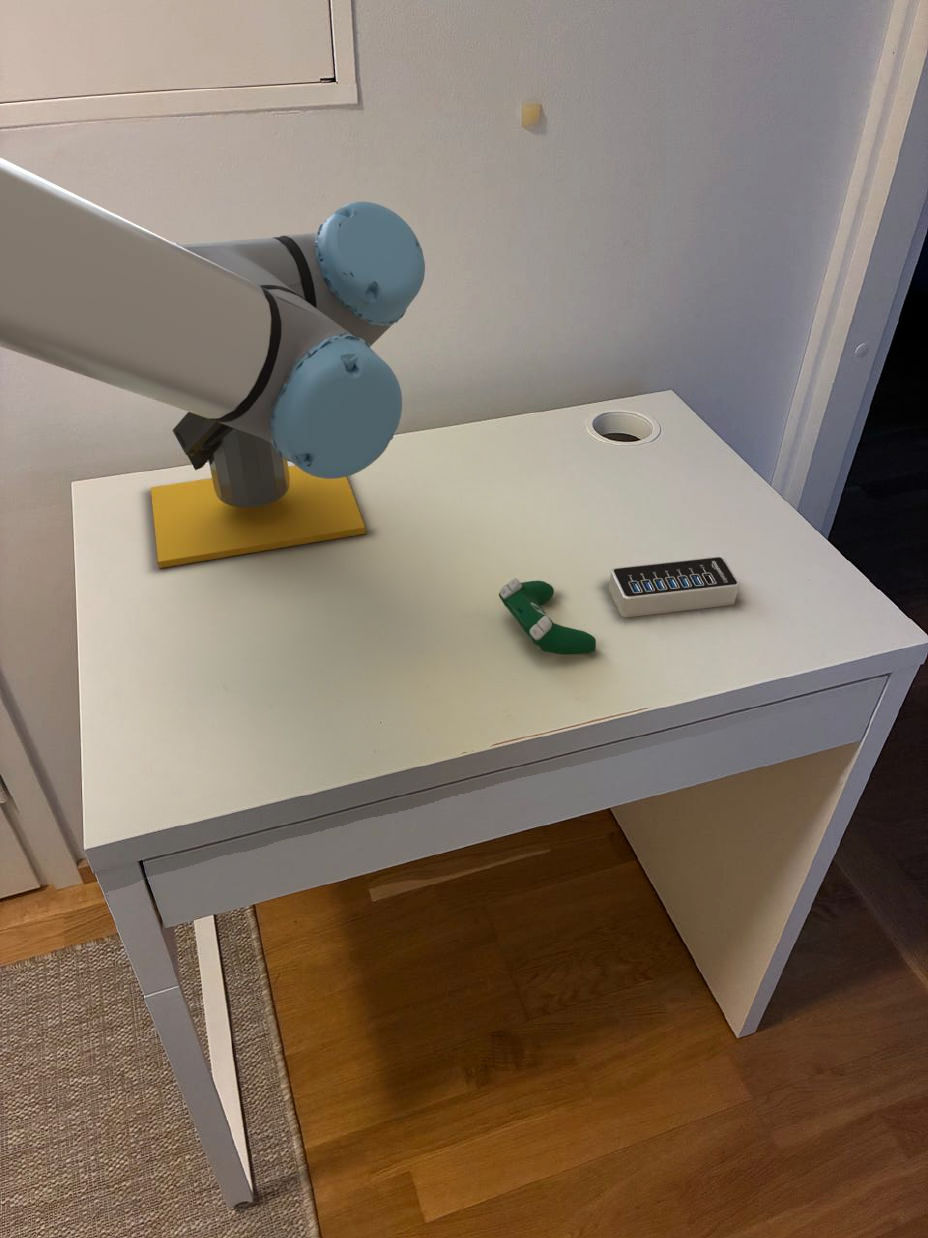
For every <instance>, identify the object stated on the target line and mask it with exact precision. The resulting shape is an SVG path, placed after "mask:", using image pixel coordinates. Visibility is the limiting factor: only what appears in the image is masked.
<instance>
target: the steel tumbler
mask: <svg viewBox="0 0 928 1238" xmlns="http://www.w3.org/2000/svg"><path fill="white" fill-rule="evenodd" d="M217 443H218V445H219V447H218V448H217V449H216V451H215V452H214V453H213V454H212V456H211V457H210V458H209V460H208V464H209V470H210V475H211V478H212V480H213V485H214V490H215V494H216V496H217V497H218V498H219V500H221V501H222V502H224V503H225V504H228V505H230V506H234V507H240V508H253V507H260V506H264V505H268V504H270V503H273V502H275V501H277V500H279V499H280V498H281V497H283V496H284V495H285V494H286V492H287V491H288V489H289V486H290V476H289V469H288V467H289V461H287V460H285V459H284V458H283V457H282V456H281V455H280V454H279V453H278V452H277V451H276V450H275V448H274V447H273V445H272V443H270V442H268V441H266V440H264V439H262V438H260V437H258V436H255V435H252V434H249V433H246V432H243V431H241V430H238V429H233V430H232V431H231V432H229V433H228V434H227V435H226V436H224V437H223V438H222V439H220V440H219V441H218V442H217Z"/></svg>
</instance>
